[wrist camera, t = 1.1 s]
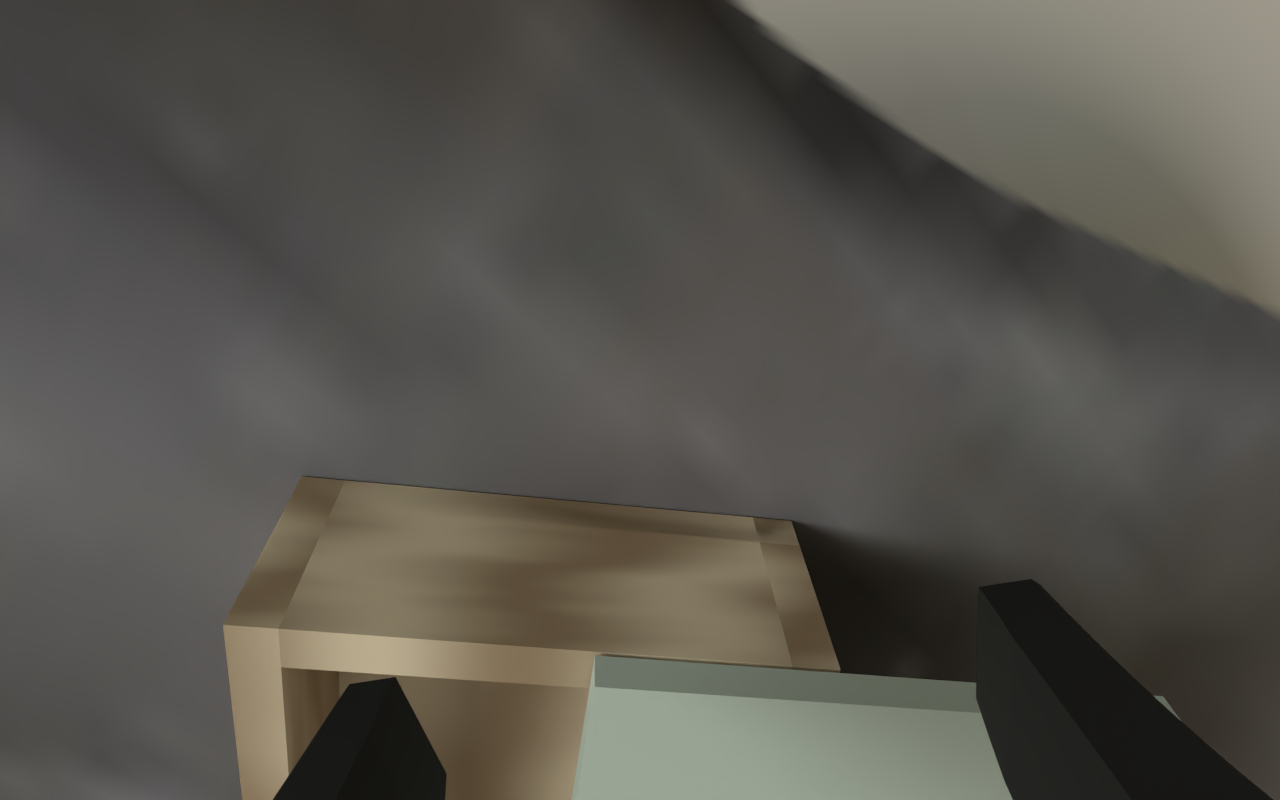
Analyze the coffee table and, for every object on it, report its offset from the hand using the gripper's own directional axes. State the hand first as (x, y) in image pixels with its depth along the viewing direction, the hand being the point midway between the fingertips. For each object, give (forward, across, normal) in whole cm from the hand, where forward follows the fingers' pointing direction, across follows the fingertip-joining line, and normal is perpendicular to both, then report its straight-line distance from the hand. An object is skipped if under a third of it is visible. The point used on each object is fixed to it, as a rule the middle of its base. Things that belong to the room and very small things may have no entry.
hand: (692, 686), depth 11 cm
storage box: (+9, +6, +11) cm, 15 cm away
